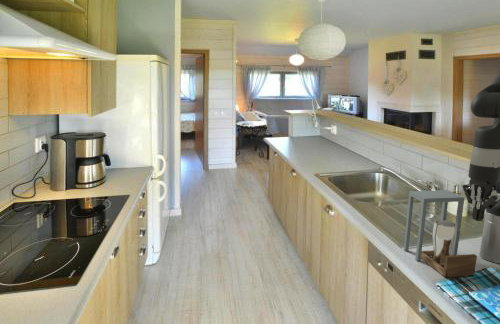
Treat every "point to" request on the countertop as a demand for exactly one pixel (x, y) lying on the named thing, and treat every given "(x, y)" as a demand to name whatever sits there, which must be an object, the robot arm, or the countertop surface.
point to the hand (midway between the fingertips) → (477, 220)
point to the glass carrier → (452, 264)
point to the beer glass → (443, 240)
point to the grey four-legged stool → (425, 198)
